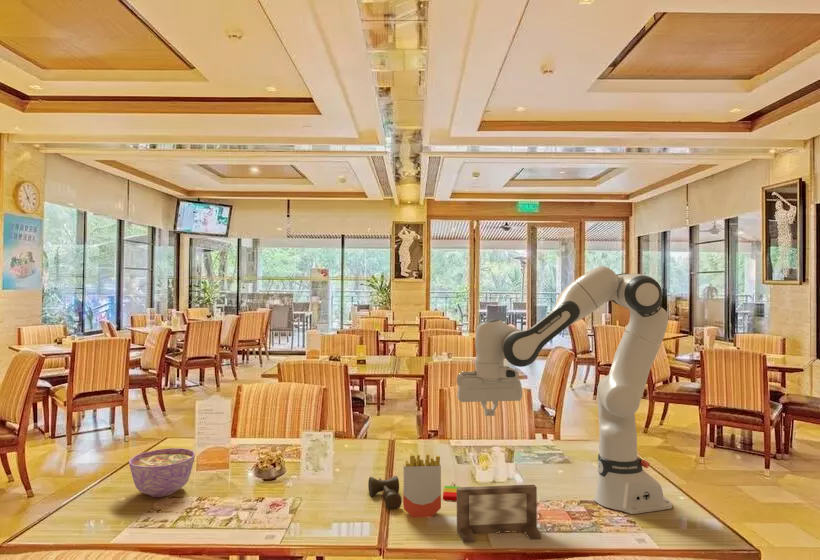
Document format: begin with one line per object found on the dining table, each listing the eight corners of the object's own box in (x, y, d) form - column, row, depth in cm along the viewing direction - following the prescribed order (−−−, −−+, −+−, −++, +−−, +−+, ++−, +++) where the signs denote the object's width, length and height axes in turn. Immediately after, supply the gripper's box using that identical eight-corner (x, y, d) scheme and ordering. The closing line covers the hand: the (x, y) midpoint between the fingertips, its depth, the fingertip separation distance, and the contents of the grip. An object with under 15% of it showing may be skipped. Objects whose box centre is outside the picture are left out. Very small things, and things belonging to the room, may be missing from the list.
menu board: (534, 527, 152) (534, 484, 153) (542, 539, 145) (542, 493, 146) (456, 531, 150) (456, 487, 150) (461, 543, 143) (461, 497, 143)
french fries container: (403, 511, 163) (403, 451, 164) (439, 510, 164) (438, 450, 165) (404, 517, 159) (403, 455, 159) (440, 516, 160) (440, 455, 160)
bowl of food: (155, 479, 191) (155, 446, 191) (207, 483, 187) (207, 449, 187) (113, 501, 171) (114, 464, 172) (170, 506, 167) (170, 468, 167)
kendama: (378, 514, 163) (365, 488, 183) (409, 511, 166) (393, 486, 185) (378, 494, 163) (365, 470, 182) (409, 491, 166) (393, 468, 185)
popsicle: (442, 501, 172) (442, 495, 172) (445, 484, 187) (445, 479, 187) (459, 502, 171) (459, 496, 171) (461, 485, 186) (461, 480, 186)
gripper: (458, 373, 167) (458, 418, 167) (523, 372, 169) (524, 416, 169) (454, 370, 173) (455, 413, 173) (517, 369, 175) (518, 412, 175)
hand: (489, 415), depth 171 cm, fingers closed
